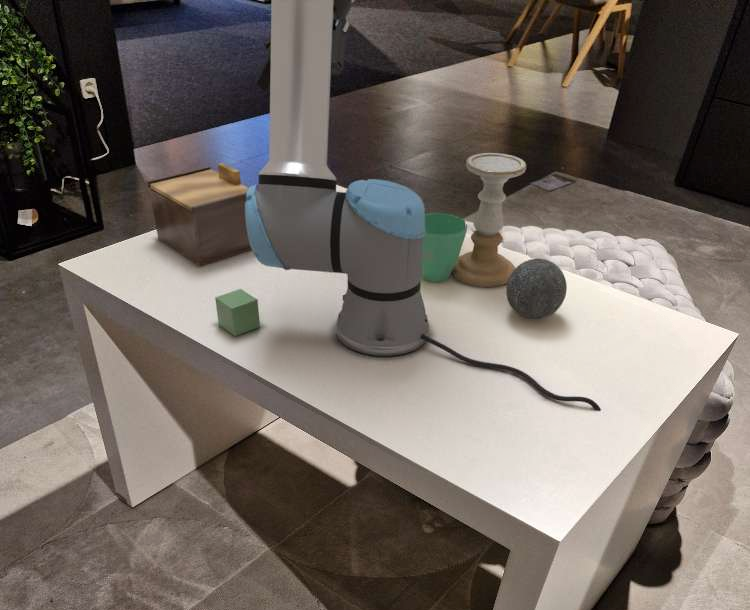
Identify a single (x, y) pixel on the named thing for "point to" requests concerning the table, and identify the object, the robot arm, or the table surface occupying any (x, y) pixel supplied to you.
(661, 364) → the table surface
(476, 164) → the candle holder
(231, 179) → the sliding lid
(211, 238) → the walnut box
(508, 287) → the decorative ball
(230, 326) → the block
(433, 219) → the mug
